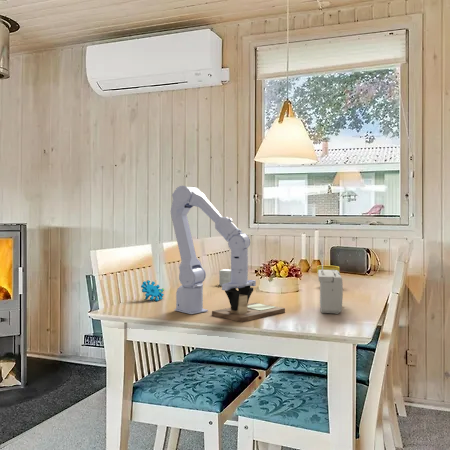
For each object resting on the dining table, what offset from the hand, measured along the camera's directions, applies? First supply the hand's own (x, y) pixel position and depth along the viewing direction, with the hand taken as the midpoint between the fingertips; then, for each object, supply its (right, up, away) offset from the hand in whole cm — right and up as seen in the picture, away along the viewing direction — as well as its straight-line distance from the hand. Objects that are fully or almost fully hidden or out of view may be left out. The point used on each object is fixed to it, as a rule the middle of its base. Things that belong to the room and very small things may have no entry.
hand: (239, 309), depth 165 cm
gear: (-33, -1, +28) cm, 44 cm away
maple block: (0, -2, 0) cm, 2 cm away
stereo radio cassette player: (+33, -2, +13) cm, 36 cm away
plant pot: (+43, -1, +62) cm, 75 cm away
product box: (-3, 0, +67) cm, 67 cm away
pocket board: (+4, -2, +4) cm, 5 cm away
